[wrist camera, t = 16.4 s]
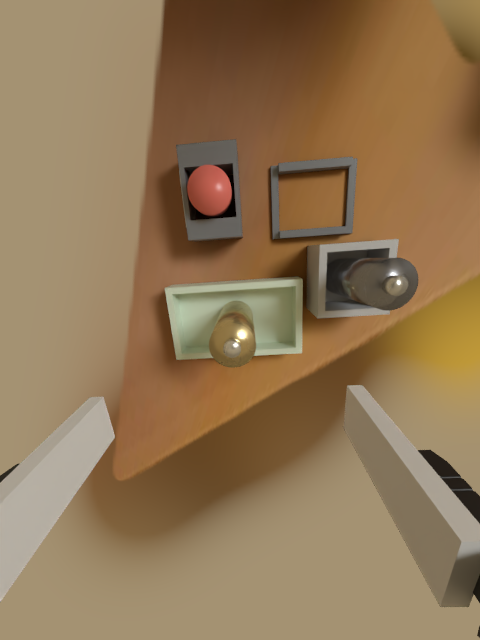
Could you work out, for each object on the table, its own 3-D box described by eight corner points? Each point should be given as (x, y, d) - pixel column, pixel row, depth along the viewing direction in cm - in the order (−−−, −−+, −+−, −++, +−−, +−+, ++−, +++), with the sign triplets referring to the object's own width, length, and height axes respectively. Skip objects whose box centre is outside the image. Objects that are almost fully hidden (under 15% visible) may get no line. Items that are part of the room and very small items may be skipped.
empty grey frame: (270, 167, 26) (271, 163, 25) (356, 159, 26) (360, 156, 25) (272, 239, 28) (273, 238, 27) (351, 233, 28) (354, 232, 27)
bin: (307, 245, 28) (319, 244, 24) (372, 240, 28) (398, 239, 23) (306, 307, 31) (317, 318, 26) (366, 304, 30) (389, 314, 26)
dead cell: (327, 256, 28) (379, 254, 18) (361, 261, 28) (433, 261, 18) (319, 291, 29) (364, 308, 19) (352, 296, 29) (415, 315, 19)
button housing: (179, 159, 26) (170, 145, 23) (237, 153, 26) (236, 139, 22) (190, 241, 29) (182, 240, 25) (242, 237, 28) (242, 236, 25)
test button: (189, 173, 24) (184, 166, 22) (230, 169, 24) (229, 162, 22) (194, 218, 25) (190, 215, 24) (233, 215, 25) (232, 212, 23)
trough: (171, 284, 30) (164, 288, 28) (297, 276, 30) (302, 278, 27) (182, 351, 33) (176, 359, 30) (297, 344, 32) (302, 353, 30)
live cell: (218, 301, 30) (204, 327, 20) (251, 299, 30) (255, 324, 20) (221, 332, 31) (210, 372, 21) (253, 330, 31) (257, 370, 21)
